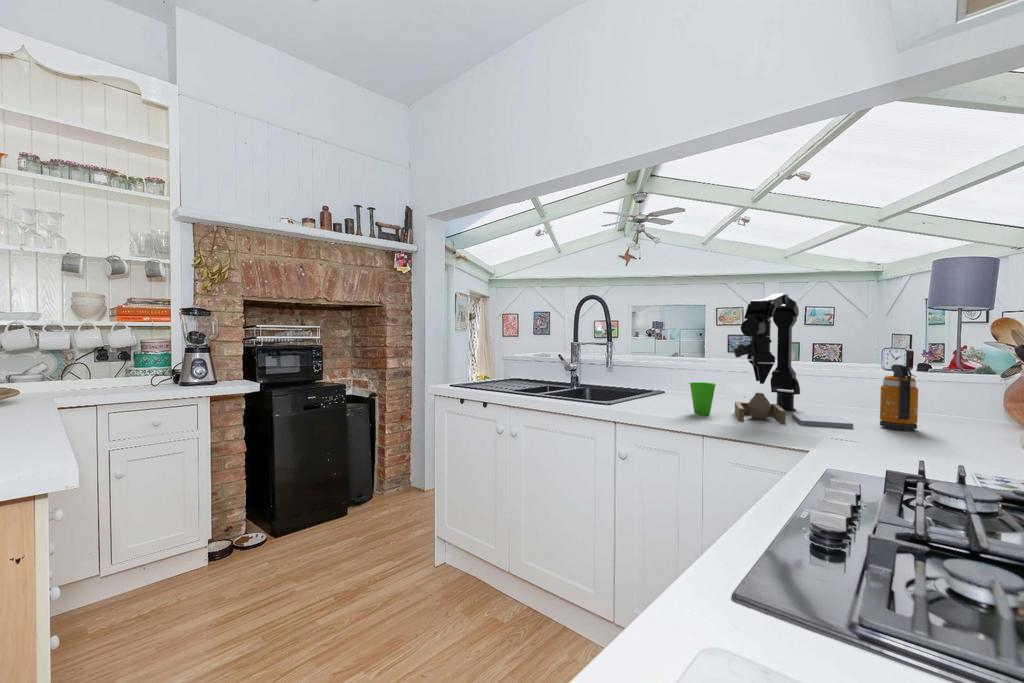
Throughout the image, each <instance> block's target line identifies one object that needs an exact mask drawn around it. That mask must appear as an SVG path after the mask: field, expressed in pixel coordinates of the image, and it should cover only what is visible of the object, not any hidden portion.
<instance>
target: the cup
mask: <svg viewBox="0 0 1024 683" xmlns="http://www.w3.org/2000/svg"><path fill="white" fill-rule="evenodd" d="M688 384H689V387H690V393H691V399H692V407H693V412H694V414H695V415H697V416H710V414H711V411H712V404H713V401H714V394H715V389H716V388H715V387H716V386H717V384H716V383H714V382H705V381H704V382H703V381H700V382H699V381H693V382H688Z"/></svg>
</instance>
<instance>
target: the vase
mask: <svg viewBox="0 0 1024 683" xmlns="http://www.w3.org/2000/svg"><path fill="white" fill-rule="evenodd" d="M748 403H749V404H748V412H749V414H748V416H750V417H751V418H752V419H753V420H758V421H763V420H767V419H768V418H769V417H770V416H769V415H770V413H771V406H770V404H771V403H770V401H769V400H768V398H767V397H766V396H765V394H764V393H763V392H756V393H755V394H754V395H753V397H752V398H750V400H749V402H748Z"/></svg>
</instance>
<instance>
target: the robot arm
mask: <svg viewBox="0 0 1024 683" xmlns="http://www.w3.org/2000/svg"><path fill="white" fill-rule="evenodd" d="M799 315H800V310H799V305H798V304H797V302H796V301H795V300H793V299H792V298H790V297H789V295H788V293H785V292H782V293H780V292H779V293H772V294H770V296H767V297H765V298H762V299H751V300H750V301H749V303H748V304H747V308H746V310H745V314H744V318H743V319H744V321H743V322H742V323H741V325H740V330H741V333H742V334H743V335H744V336H746V337H751V339H749V343H746V344H743V343H740V344H738V345H737V347H734V348H732V351H733V353H734V356H735V357H734V358H737V359H738V358H741V357H742V356H746V360H747V362H748V363H749V364H750V365H751V366H752V369H753V372H754V378H755V381H756V382H759V384H762V385H764V384H765V382H766V380H767V378H768V376H769V374H770V372H771V370H772V368H773V367H774V365H775V363H776V367H775V369H774V370H772V372H771V378H770V380H769V381H770V390H771V393H776V404H778V405H779V406H780V407H781V408H782V409H783V410H785V411H794V412H795V411H797V408H795V395H796V396H797V395H801V387H800V383H799V380H798V378H797V373H796V372H795V370H794V369H793V367H792V343H793V342H792V341H793V340H792V338H793V334H792V333H793V327H794V326H795V325H796V323H797V321H798V317H799ZM771 319H772V320H771ZM772 321H773V324H775V326H776V327H777V351H776V352H777V355H776V356H777V358H776V356H775V355H774V354H772V352H771V343H772V339H771V323H772ZM776 360H777V362H776Z"/></svg>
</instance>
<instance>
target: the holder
mask: <svg viewBox="0 0 1024 683" xmlns="http://www.w3.org/2000/svg"><path fill="white" fill-rule="evenodd" d="M748 404H749V402H745V401H744V402H743V401H742V402H741V401H739V402H738V401H734V414H735V416H736V418H737V420H738V421H739V420H742V422H743V421H745V415H749V412H748ZM770 406H771V413H770V415H769V417H774V419H775V420H776V421H777V422H778V423H779V424H786V412H787V410H783V409H782V408H781V407H780V406H779V405H778V404H777V403H770Z"/></svg>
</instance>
